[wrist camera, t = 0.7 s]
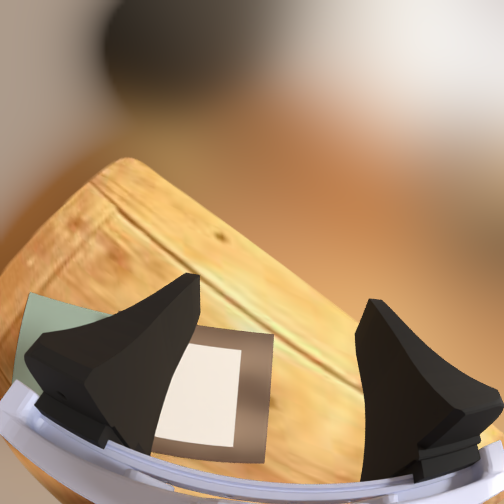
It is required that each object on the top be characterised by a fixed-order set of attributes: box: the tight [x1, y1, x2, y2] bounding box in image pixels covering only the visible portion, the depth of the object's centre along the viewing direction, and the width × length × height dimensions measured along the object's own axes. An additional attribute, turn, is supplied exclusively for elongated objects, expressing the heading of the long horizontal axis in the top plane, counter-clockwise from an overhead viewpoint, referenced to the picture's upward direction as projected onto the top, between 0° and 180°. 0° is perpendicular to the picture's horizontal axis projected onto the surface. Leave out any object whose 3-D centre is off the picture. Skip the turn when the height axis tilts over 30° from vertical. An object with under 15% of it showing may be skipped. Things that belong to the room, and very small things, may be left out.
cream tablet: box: [155, 343, 241, 447], centre depth 19 cm, size 8×6×2 cm
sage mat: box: [12, 292, 112, 396], centre depth 21 cm, size 12×13×1 cm
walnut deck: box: [118, 311, 274, 463], centre depth 21 cm, size 12×14×3 cm
